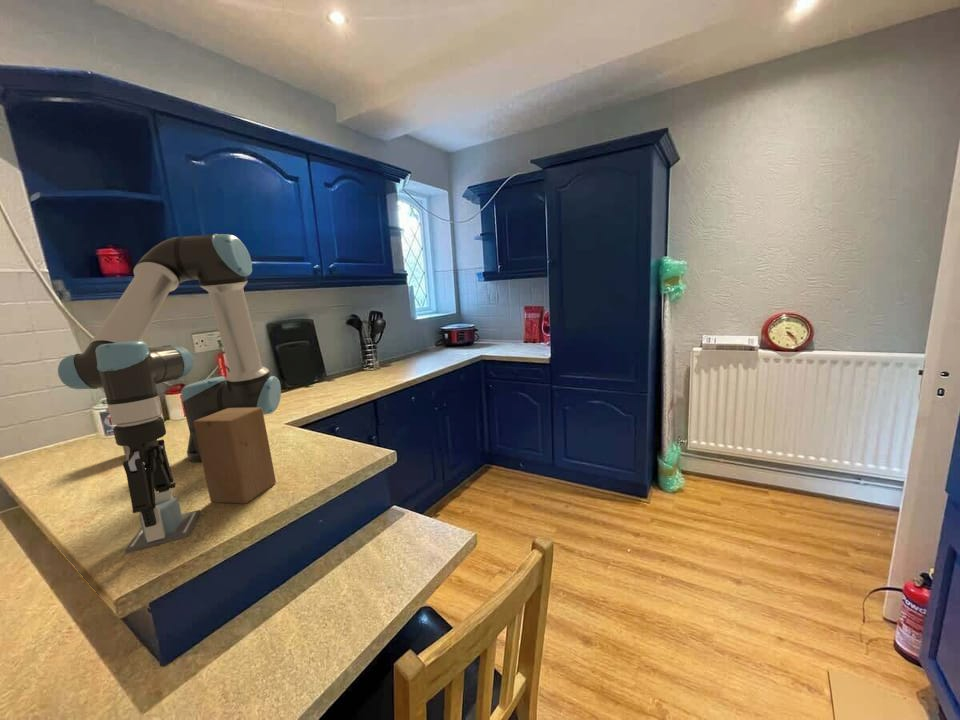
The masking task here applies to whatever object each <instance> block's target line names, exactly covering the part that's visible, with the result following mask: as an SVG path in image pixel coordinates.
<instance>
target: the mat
mask: <svg viewBox="0 0 960 720" xmlns="http://www.w3.org/2000/svg"><path fill="white" fill-rule="evenodd" d="M201 513H202V511H201V509H197V510H194V511H189V512H185V513H181V514H182V521H181V523H180V525H179V526H178V528H177V530H176V531H175V532H172V533H168V534H165V538H162V539H158V540H154V541H151V542H147V540H146V539H145V538H144V534H143V531H142V527H140V529H139V530H138V531H137V533H136V534H135V536H134V537H133V538H132V539H131V541H130V542H129V544H128V545H127V546H126V547H125V549H124V552H125V554H127V553H131V552H135V551H138V550H141V549H142V550H143V549H146V548H149V547H153V546H158V545H162V544H165V543H168V542H172V541H175V540H180V539H182V538H187V537H189V536H190V534H191V533H192V530H193V529H194V527H195V525H196V522H197V520H198V519H199V517H200V514H201Z"/></svg>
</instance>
